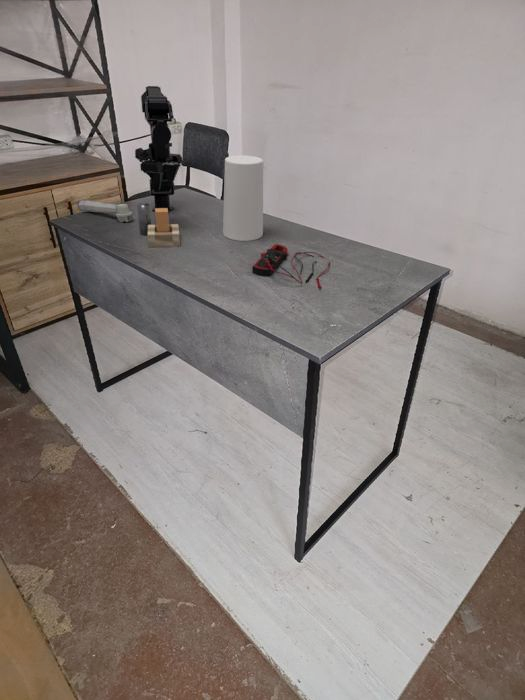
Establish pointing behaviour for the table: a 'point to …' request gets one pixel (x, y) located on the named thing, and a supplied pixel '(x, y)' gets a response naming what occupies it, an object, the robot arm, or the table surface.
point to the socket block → (163, 236)
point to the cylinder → (243, 198)
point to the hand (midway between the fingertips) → (164, 188)
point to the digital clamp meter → (274, 259)
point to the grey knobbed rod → (106, 209)
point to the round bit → (144, 217)
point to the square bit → (162, 219)
